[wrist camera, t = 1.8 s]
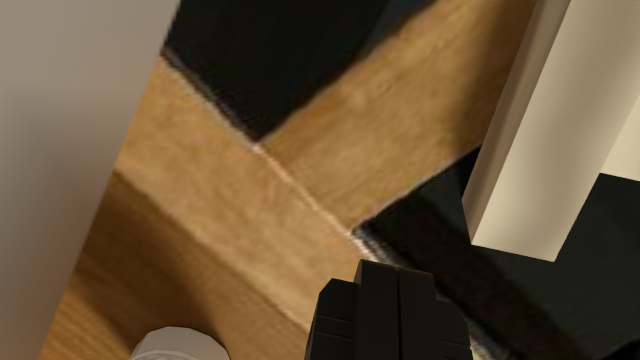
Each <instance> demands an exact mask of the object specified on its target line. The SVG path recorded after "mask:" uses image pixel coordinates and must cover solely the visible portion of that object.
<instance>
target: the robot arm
mask: <svg viewBox="0 0 640 360" xmlns="http://www.w3.org/2000/svg"><path fill="white" fill-rule="evenodd" d="M470 346H471V344H470V339H469V333H468V327H467V323H466V322H465V320H464V319H463V317H462V316H461V314H460V313H459V311H458V310H457V308H456V307H455V305H454V304H453V303H448V302H443V301H439V300H436V292H435V283H434V277H433V274H431V273H426V272H422V271H417V270H412V269H407V268H403V267H395V266H393V265H388V264H383V263H379V262H374V261H369V260H364V259H360V261H359V264H358V267H357V271H356V274H355V278H354V281H353V282H348V281H344V280H339V279H334V278H332V279H331V280H330V281H329V282H328V283H327V285H326V286H325V287H324V288H323V289H322V291H321V292H320V293H319V297H318V301H317V305H316V309H315V313H314V317H313V321H312V325H311V329H310V333H309V337H308V341H307V345H306V351H305V358H304V360H473V355H472V350H471V349H470Z"/></svg>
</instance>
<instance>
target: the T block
mask: <svg viewBox="0 0 640 360" xmlns="http://www.w3.org/2000/svg"><path fill="white" fill-rule="evenodd" d="M599 172H601V173H606V174H610V175H615V176H619V177H624V178H629V179H633V180H638V181H640V0H537V2H536V4H535V7H534V10H533V12H532V15H531V18H530V20H529V23H528V26H527V28H526V31H525V34H524V36H523V39H522V41H521V44H520V47H519V49H518V52H517V55H516V57H515V60H514V63H513V65H512V68H511V70H510V73H509V76H508V78H507V81H506V84H505V86H504V89H503V92H502V94H501V97H500V100H499V102H498V105H497V107H496V110H495V113H494V115H493V118H492V121H491V123H490V126H489V129H488V131H487V134H486V137H485V139H484V142H483V144H482V147H481V150H480V152H479V155H478V158H477V160H476V163H475V166H474V168H473V171H472V174H471V176H470V179H469V181H468V184H467V187H466V189H465V192H464V195H463V197H462V203H463V208H464V212H465V217H466V222H467V226H468V231H469V235H470V240H471V244H474V245H478V246H483V247H488V248H492V249H497V250H502V251H506V252H511V253H516V254H520V255H525V256H530V257H534V258H539V259H544V260H548V261H553V262H554V260H555V258H556V256H557V254H558V252H559V250H560V248H561V246H562V245H563V243H564V241H565V239H566V237H567V235H568V233H569V231H570V229H571V227H572V225H573V223H574V221H575V219H576V217H577V215H578V213H579V211H580V209H581V208H582V206H583V204H584V202H585V200H586V198H587V196H588V194H589V192H590V190H591V188H592V186H593V184H594V182H595V180H596V178H597V176H598V174H599Z"/></svg>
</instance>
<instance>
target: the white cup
mask: <svg viewBox="0 0 640 360" xmlns="http://www.w3.org/2000/svg"><path fill="white" fill-rule="evenodd" d="M129 360H230V358H229V356H228V354H227V351H226V350H225V349H224V348H223V347H222V346H221V345H220V344H218V343H217V342H216V341H215V340H214V339H213V338H212V337H210V336H208V335H206V334H203V333H201V332H198V331H196V330H193V329H191V328H183V327H169V326H167V327H164V328H161V329H158V330H154V331H151V332H149V333H148V334H147V335H146V336H145V337H144V338H143V339H142V340H141V341H140V342H139V343H138V345H137V346H136V348H135V350H134V351H133V353H132V355H131V357H130V359H129Z"/></svg>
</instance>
